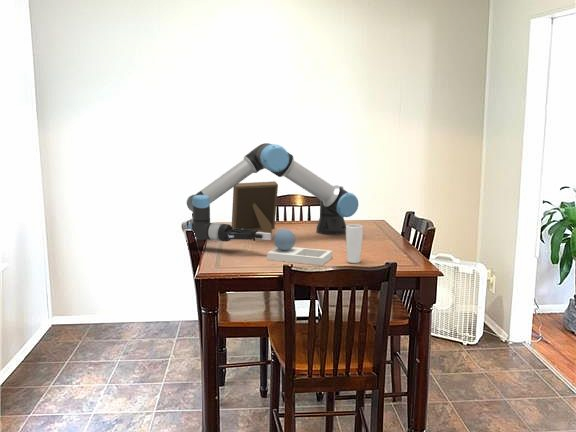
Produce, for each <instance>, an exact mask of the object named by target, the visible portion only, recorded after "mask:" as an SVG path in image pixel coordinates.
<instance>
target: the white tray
mask: <svg viewBox="0 0 576 432" xmlns="http://www.w3.org/2000/svg"><path fill="white" fill-rule="evenodd" d="M266 254H267V255H266V256H267V258H266V259H267V261H275V262H283V261H285V262H286V263H296V264H304V265H305V264H306V265H315V266H324V265H325V264H327V263H328V262H329V261H330V260H331V259H333V254H334V252H333V250H328V249H318V248H306V247H295V246H293V247H292V248H291V249H289V250H286V251H283V250H280V249H278V248H277V247H275V248H273V249H271V250H270V251H268V252H267V253H266Z"/></svg>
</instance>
